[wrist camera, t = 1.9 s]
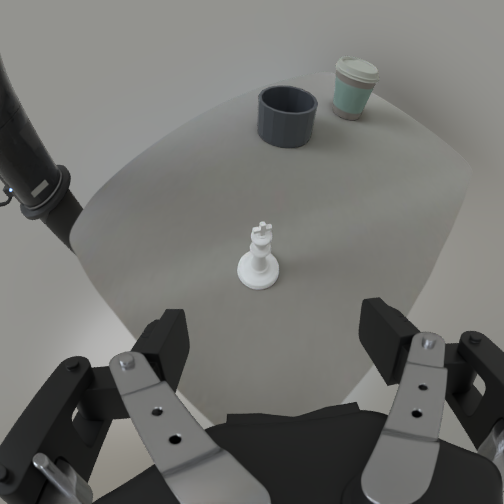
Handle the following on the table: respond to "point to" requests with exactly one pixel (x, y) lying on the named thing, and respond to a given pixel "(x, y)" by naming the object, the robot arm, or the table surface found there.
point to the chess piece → (259, 260)
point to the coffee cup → (353, 86)
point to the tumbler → (286, 116)
